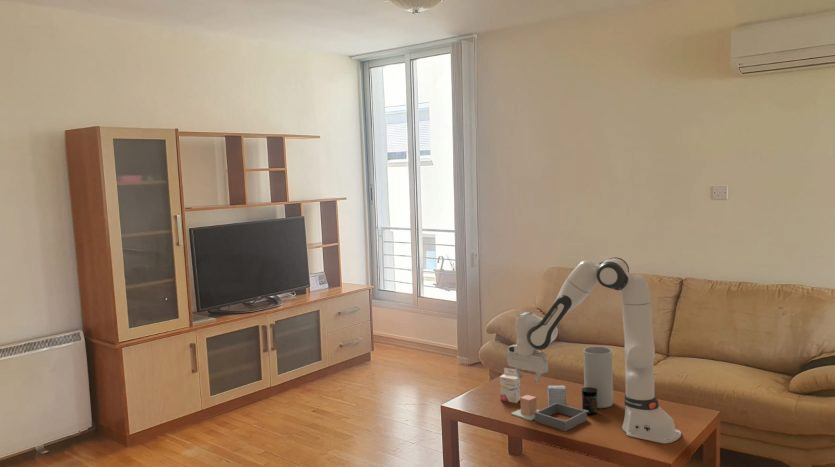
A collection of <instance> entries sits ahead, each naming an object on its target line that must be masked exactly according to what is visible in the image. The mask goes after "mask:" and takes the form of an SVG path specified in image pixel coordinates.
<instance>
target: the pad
mask: <svg viewBox="0 0 835 467" xmlns="http://www.w3.org/2000/svg"><path fill="white" fill-rule="evenodd" d="M539 410H540V409H537V411H539ZM510 414H511V416H512V415H513V416H514V417H518V418H521V419H524V420H527V421H530V422H531V421H535V414H533V415H530V416H529V415H526V414H522V413H521V408H520V409H519V408H518V409H517V410H515V411H513V412H510Z"/></svg>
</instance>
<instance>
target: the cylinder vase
mask: <svg viewBox="0 0 835 467" xmlns="http://www.w3.org/2000/svg"><path fill="white" fill-rule="evenodd" d="M613 368H614V367H613V350H612V348H609V347H605V346H588V347H585V348H583V381H584V382H583V383H584V384H583V386H584V387H583V388H585V387H592V388H595V389H597V402H598V409H606V408H609V407H612V406H613V404H614V384H613V383H614V382H613V381H614V380H613V378H614V376H613V374H614V372H613Z"/></svg>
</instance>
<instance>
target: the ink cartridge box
mask: <svg viewBox="0 0 835 467" xmlns="http://www.w3.org/2000/svg"><path fill="white" fill-rule="evenodd" d="M499 389H500V390H499V391H500V392H499V395H500V401H502V402H504V401H505V402H509V403H512V404H513V403H514V404H517V403H518V402H520V398H521V378H518V377H517V373H516V371H515V368H510V367H509V368H507V367H503V374H501V375H500V376H499Z"/></svg>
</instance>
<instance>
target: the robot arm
mask: <svg viewBox="0 0 835 467" xmlns="http://www.w3.org/2000/svg"><path fill="white" fill-rule="evenodd" d="M598 284H600V285H601V286H602V287H604V288H607V289H611V290H615V291H619V292H620V294H621V295H620V296H621V311H622V325H623V336H624V337H623V338H624V339H623V340H624V365H625V366H624V373H625V393H624V407H625V410H624V419H623V422H622V425H621V426H622V427H621V429H622V430H623V431H624V432H625V434H626V436H627V437H631V438H636V439H641V440H646V441H649V442H656V443H660V444H663V445H665V444H670V443H673V442H675V441H678V440H679V439H680V438H681V436H682V432H681V430H679V429H676V426H675V421H674V418H672V417H671V415H669V413H667V412H666V411H665V410H664V409H663V408H662V407H660V405H659V404H660V403H661V401H662V400H661V399H657V397H656V395H655V369H654V366H655V365H654V361H655V357H656V352H655V351H656V349H655V339H654V328H653V317H652V302H651V293H650V287H649V284H648V281H647V279H646V278H645V276H642V275H639V274H632V273H630V267H629V265H628V263H627V261H625V260H624V259H623V258H621V257H610V258H608V259H605V260H603V261H601V262H599V263H595V262H594V261H591V260H586V259H585V260H582V261H581V262H580V263H578V265H576V267H575V268H573V269H572V271H571V272H570V274H569V275H568V276H567V277H566V279H565V280H564V282H563V284H562V286H561V288H560V290H559V292H558V294H557V297H556V298H555V300H554V301H553V304H552V306H551V307H550V308H549V310H548V311H547V313H546V314H545V315H544V317H540V316H538V315H537V314H535V313H534V312H532V311H526V312H525V311H524V312H522V313H520V314H518V315H517V316H516V318H515V335H516V342H515V344H512V345H510V346H507V354H506V355H507V356H506V358H507V365H508V366H509V367H512V368H514V369H515V371H516V373H517V377H518V378H520V379H521V378H523V373H522V372H521V370H525V371H529V372H532V373H535V375H536V376H535V377H534V378H533V381H534V382H535V383H538V382H540V378H541V376H542V374H546V373H548V371H549V365H548V364H549V363H548V357H547V354H546V353H544V352H543V351H542V350H546V349H547V348H548V347H549V346H550V344H551V343H552V342H553V341H554V340H555V339H556V338H557V336H558V335H559V327H558V325H559V324H560V322H561V321H562V319H564V317H566V315H567V314H568V313H570V311H572V310H574V309H575V308H576V307H578V306H579V305H580V304H581V303H582V302H583V301H585V299H586V298H587V297H589V295H590V293H591V291H592V290H593V289H594V287H595V286H596V285H598Z"/></svg>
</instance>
